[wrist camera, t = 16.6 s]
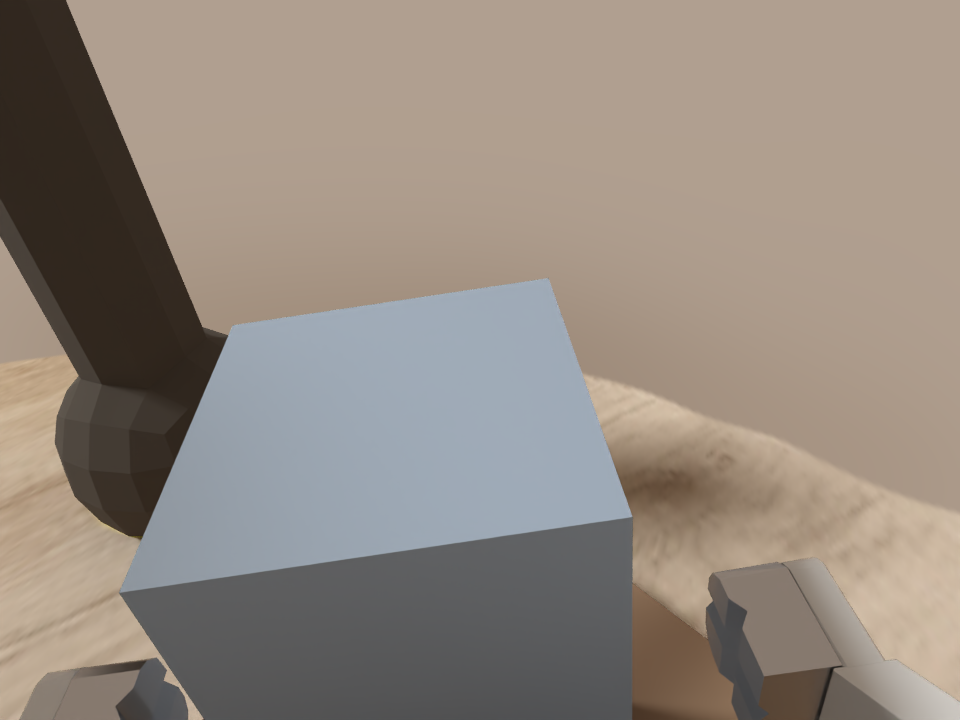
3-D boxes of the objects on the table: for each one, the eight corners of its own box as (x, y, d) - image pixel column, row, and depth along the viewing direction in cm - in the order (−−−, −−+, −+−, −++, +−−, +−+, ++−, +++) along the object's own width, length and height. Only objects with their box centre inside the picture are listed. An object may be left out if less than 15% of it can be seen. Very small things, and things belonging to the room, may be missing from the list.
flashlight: (215, 564, 28) (335, 411, 35) (-209, -241, 14) (138, -212, 21) (41, 522, 31) (183, 390, 39) (-443, -159, 17) (-72, -159, 25)
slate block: (378, 977, 13) (119, 593, 7) (386, 722, 17) (232, 325, 11) (631, 940, 13) (632, 517, 7) (580, 693, 17) (548, 278, 11)
